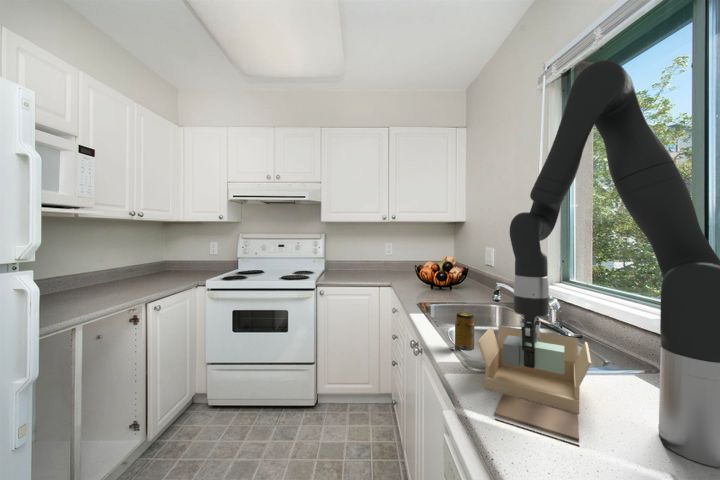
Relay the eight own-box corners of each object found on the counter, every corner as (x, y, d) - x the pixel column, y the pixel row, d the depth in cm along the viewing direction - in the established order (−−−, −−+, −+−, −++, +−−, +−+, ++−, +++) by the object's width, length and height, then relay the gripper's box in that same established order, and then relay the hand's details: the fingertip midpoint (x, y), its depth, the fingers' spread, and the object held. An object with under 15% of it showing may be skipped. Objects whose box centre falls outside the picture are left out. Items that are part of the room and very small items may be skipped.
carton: (585, 385, 78) (586, 339, 78) (590, 421, 63) (591, 364, 62) (491, 363, 90) (492, 324, 90) (475, 389, 75) (476, 341, 75)
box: (564, 364, 75) (564, 344, 75) (564, 376, 69) (564, 354, 69) (508, 353, 82) (508, 335, 82) (502, 364, 76) (503, 343, 76)
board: (577, 421, 62) (577, 414, 62) (578, 447, 55) (579, 438, 55) (502, 400, 70) (502, 394, 70) (494, 420, 63) (494, 412, 63)
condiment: (463, 345, 106) (464, 310, 106) (484, 353, 98) (485, 316, 98) (448, 349, 102) (448, 313, 102) (468, 358, 95) (469, 319, 95)
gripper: (546, 300, 68) (546, 378, 68) (550, 291, 80) (549, 357, 80) (509, 297, 72) (509, 369, 72) (517, 288, 84) (517, 351, 84)
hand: (530, 362), depth 76 cm, fingers closed on box, 5 cm apart
